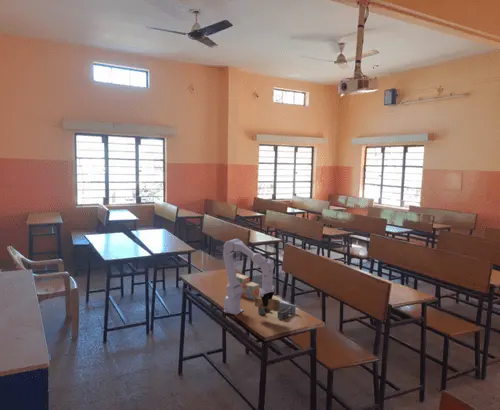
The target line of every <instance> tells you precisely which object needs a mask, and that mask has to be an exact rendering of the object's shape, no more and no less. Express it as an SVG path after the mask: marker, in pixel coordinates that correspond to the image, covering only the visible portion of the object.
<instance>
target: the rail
mask: <svg viewBox="0 0 500 410" xmlns="http://www.w3.org/2000/svg"><path fill="white" fill-rule="evenodd" d="M280 302H281V300H279V299H274V298H272V299H270V298H269V299H268V305H267V307H266V306H263V302H262V299H261V297H260V295H259V296H257V297H256V298H255V299H254V307H261V308H265V309H269V310H270V311H274V312H278V311H280V310H279V309H280Z"/></svg>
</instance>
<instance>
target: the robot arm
mask: <svg viewBox="0 0 500 410" xmlns="http://www.w3.org/2000/svg"><path fill="white" fill-rule="evenodd" d="M235 252H242V253H243V254H244V255H246V256H248V257H249V258H251V261H252V262H253V263H254V264H255V265H257V266H258V267H259V268H260V270H261V272H262V274H261V275H262V281H261V282H262V285H261V286H262V287H261V288H262V289H261V290H260V291H259V296H260V297H261V299H262V302H263V306H266V307H267V305H268V299H269V298H270V299H273V296H274V294H275V285H273V281H274V280H273V279H274V278H273V276H274V275H273V270H274V269H275V262H274V261H273V260H272V259H268V258H266V257H265V256H263V255H262V254H261V252H260V253H259V252H254V251H253V250H252V249H251V248H249V246H247V245H246V244H245V243H244V241H242V240H241V239H240V238H234V239H230V240H227V241H225V242H224V244H223V251H222V257H223V261H224V267H225V273H226V276H227V285H226V293H225V295H226V296H225V298H224V300H223V303H224V304H223V312H224V313H226V314H231V315H235V316H237V315H239V314H240V313H241V312H244V309H243V308H241V307H242V306H241V300H242V298H241V297H242V296H241V294H242V292H243V288H242V287H241V285H240V282H239V281H237V276H236V274H237V272H236V266H235V261H234V257H233V256H234V254H235Z"/></svg>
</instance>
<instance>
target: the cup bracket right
mask: <svg viewBox="0 0 500 410" xmlns="http://www.w3.org/2000/svg"><path fill="white" fill-rule="evenodd" d="M289 316H290V313H289V309H287V308H282V311H280V310H278V311H277V319H278V318H280V319H279V320H282V319H284V320H285V319H286V317H287V318H288V317H289Z"/></svg>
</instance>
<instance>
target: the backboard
mask: <svg viewBox="0 0 500 410" xmlns="http://www.w3.org/2000/svg"><path fill="white" fill-rule="evenodd" d="M282 308H287V309H289V314H294V315H296V311H297V310H296V308H297V306H296V304H295V305H294V304H292V303H287V302H283V301H280V309H279V310H278V311H280V310H281V311H280V312H282Z"/></svg>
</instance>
